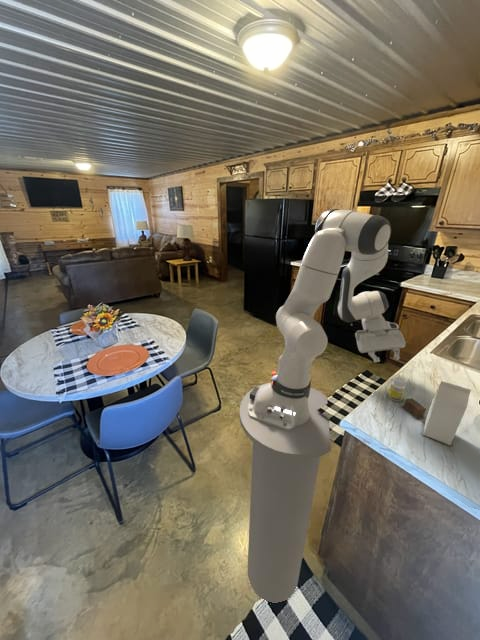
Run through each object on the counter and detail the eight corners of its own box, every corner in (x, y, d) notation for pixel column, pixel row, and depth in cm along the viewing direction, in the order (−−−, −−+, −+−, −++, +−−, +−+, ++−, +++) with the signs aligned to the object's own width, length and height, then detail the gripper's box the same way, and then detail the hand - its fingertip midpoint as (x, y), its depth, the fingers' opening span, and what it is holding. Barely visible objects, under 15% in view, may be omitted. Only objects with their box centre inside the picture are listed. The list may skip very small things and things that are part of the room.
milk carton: (450, 446, 81) (471, 396, 74) (423, 434, 85) (440, 386, 78) (450, 432, 86) (470, 384, 79) (424, 422, 90) (441, 375, 83)
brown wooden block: (423, 417, 92) (426, 408, 91) (416, 419, 92) (419, 410, 90) (409, 406, 98) (412, 397, 96) (402, 407, 97) (405, 398, 95)
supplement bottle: (391, 392, 105) (396, 374, 102) (404, 398, 102) (409, 380, 99) (385, 396, 103) (390, 378, 100) (397, 403, 99) (403, 384, 96)
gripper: (358, 328, 104) (369, 361, 99) (401, 324, 109) (414, 356, 104) (349, 333, 110) (360, 365, 105) (390, 329, 115) (402, 360, 110)
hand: (387, 360), depth 104 cm, fingers open, 8 cm apart
